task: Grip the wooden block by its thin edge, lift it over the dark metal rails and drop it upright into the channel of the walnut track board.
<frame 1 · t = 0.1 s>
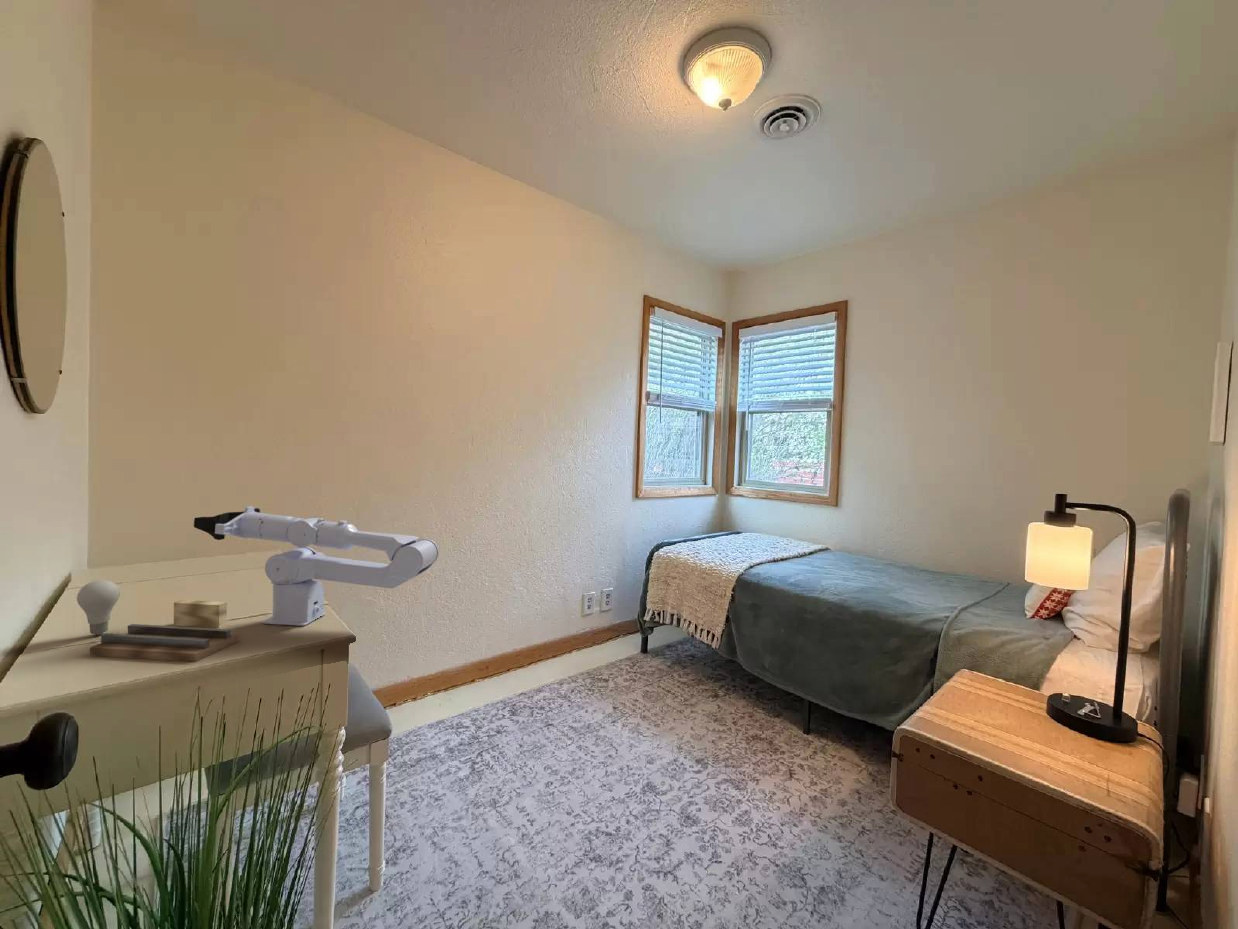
hand: (209, 519, 117), 22 cm above the table, tool horizontal, fingers open, 7 cm apart
track board: (167, 647, 99), on the table
lightbulb: (99, 635, 104), on the table
wooden block: (200, 625, 111), on the table
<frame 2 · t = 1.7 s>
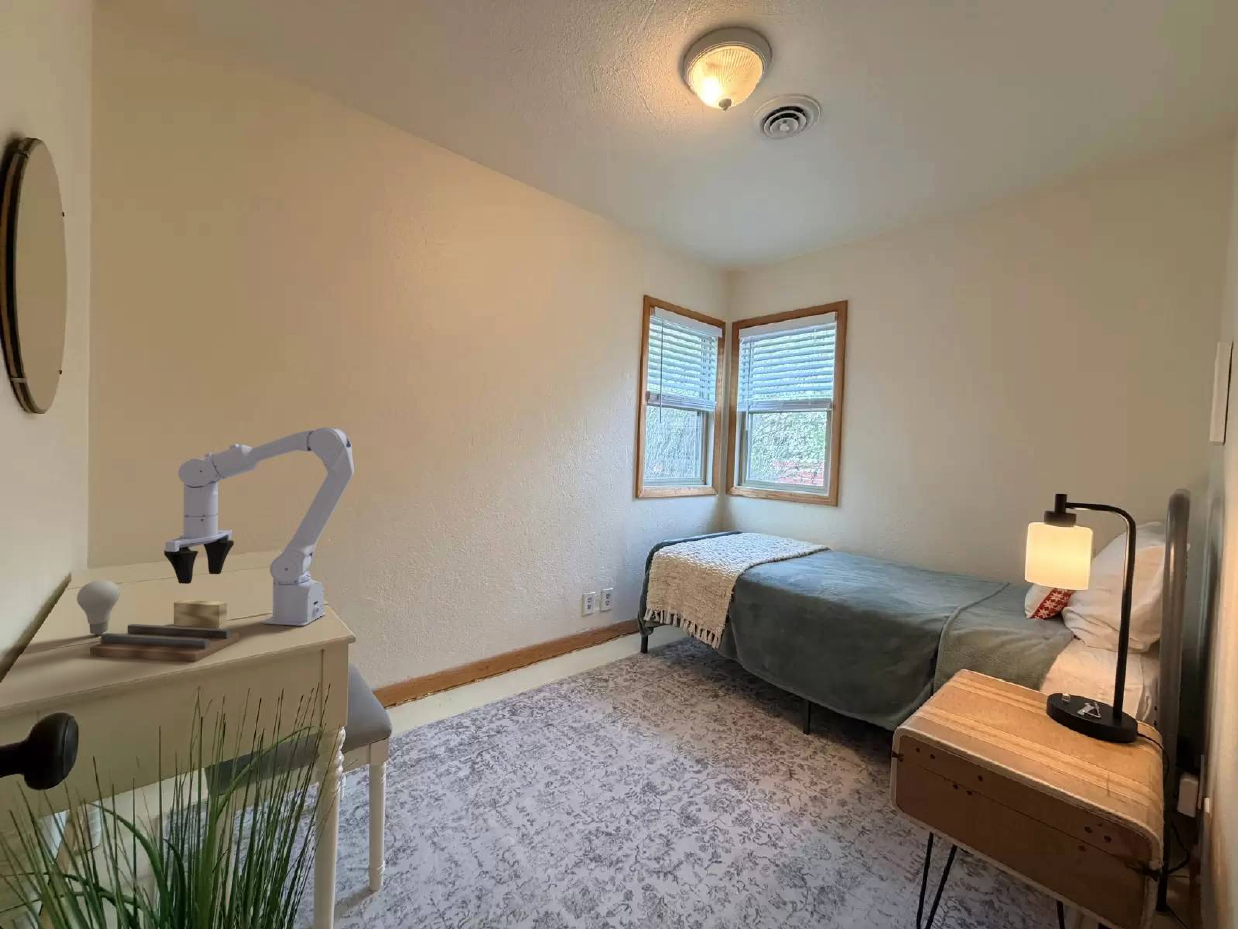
hand: (200, 578, 111), 10 cm above the table, tool pointing down, fingers open, 7 cm apart
nothing on the table moved.
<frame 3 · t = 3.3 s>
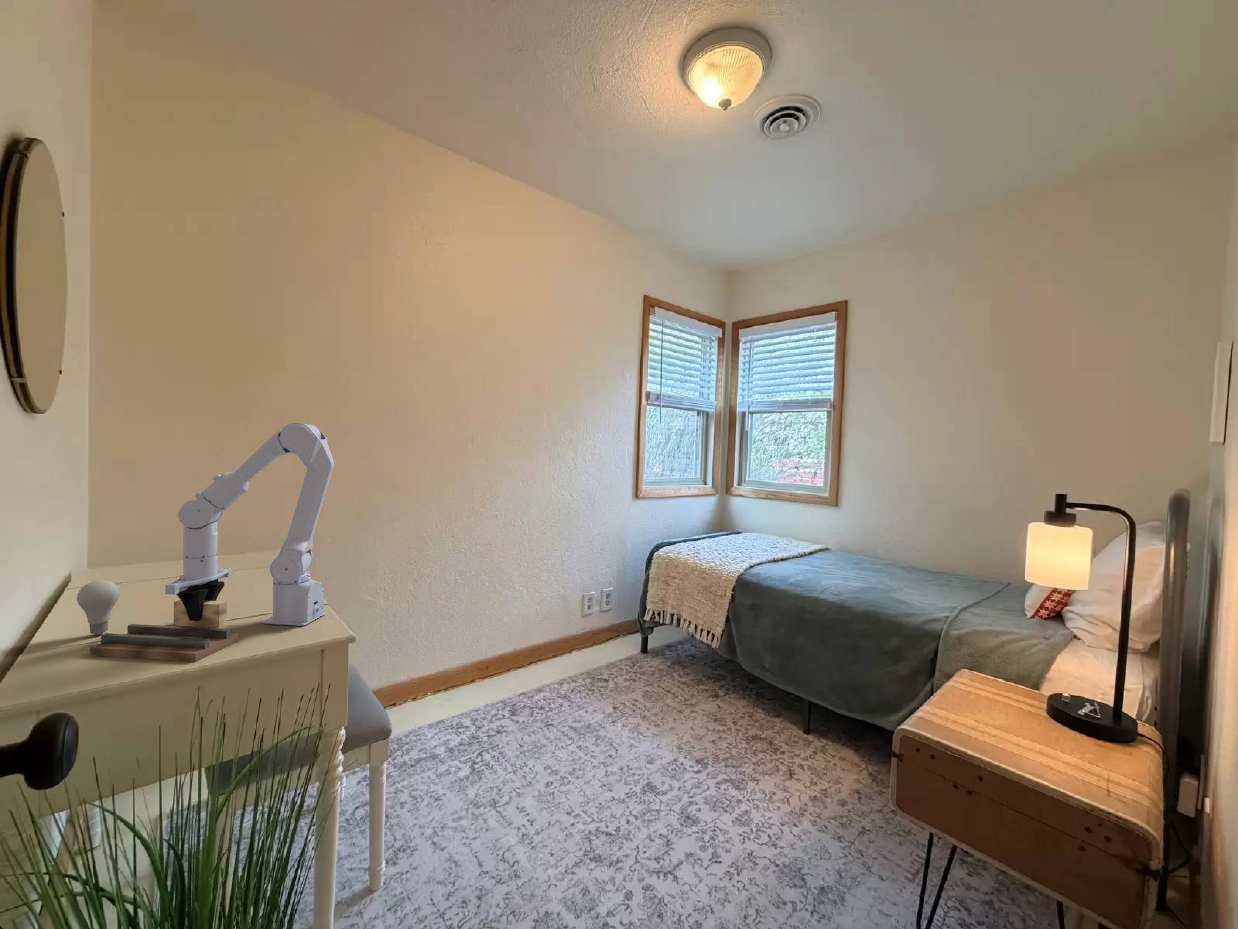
hand: (200, 618, 111), 1 cm above the table, tool pointing down, fingers closed on wooden block, 2 cm apart
wooden block: (200, 624, 111), on the table, touching gripper
everything else where it was.
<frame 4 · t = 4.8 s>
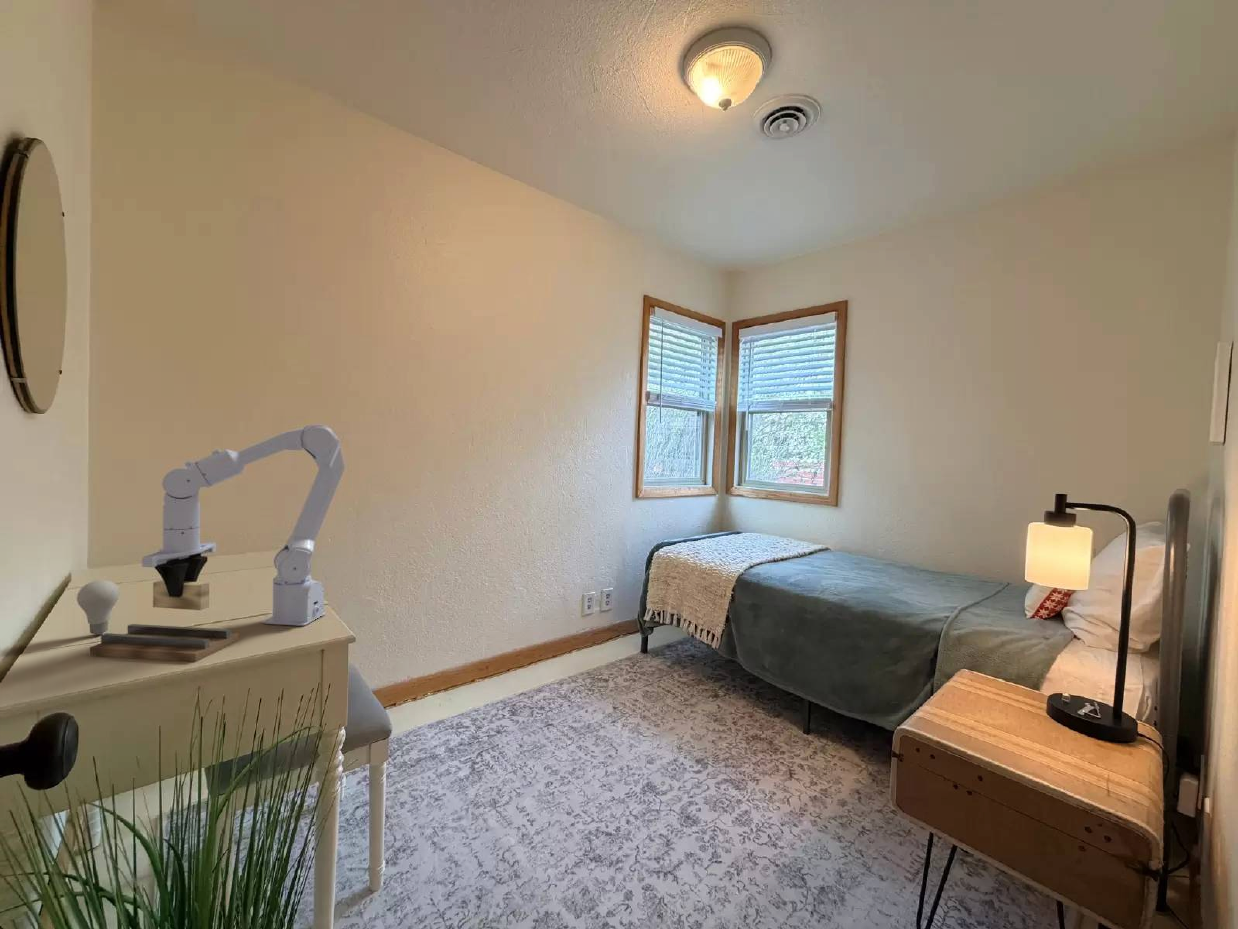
hand: (181, 594, 105), 8 cm above the table, tool pointing down, fingers closed on wooden block
wooden block: (181, 607, 105), point 6 cm above the table, touching gripper
everything else where it was.
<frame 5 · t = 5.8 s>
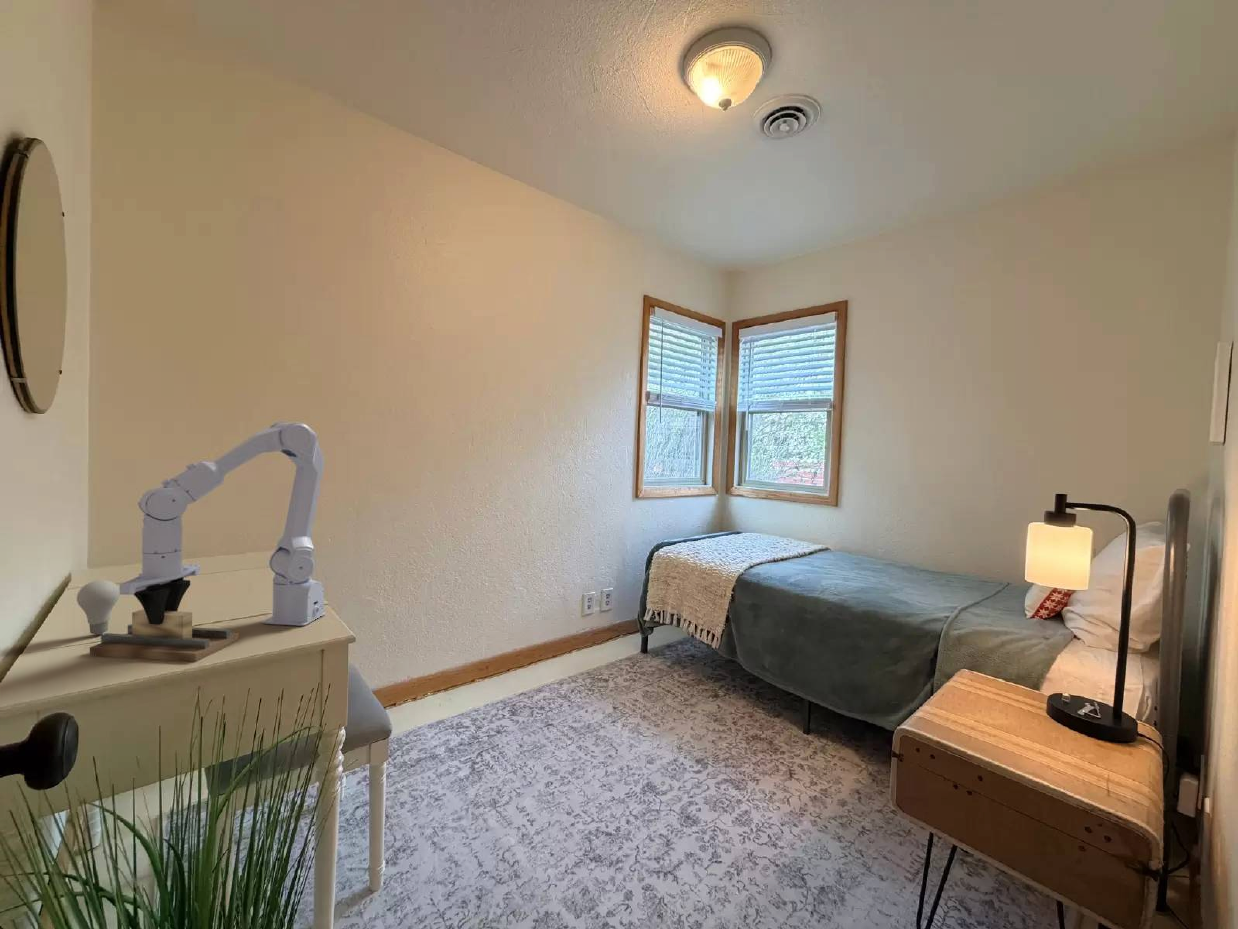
hand: (162, 621, 99), 5 cm above the table, tool pointing down, fingers closed on wooden block, 2 cm apart
wooden block: (162, 638, 99), point 2 cm above the table, touching gripper
everything else where it was.
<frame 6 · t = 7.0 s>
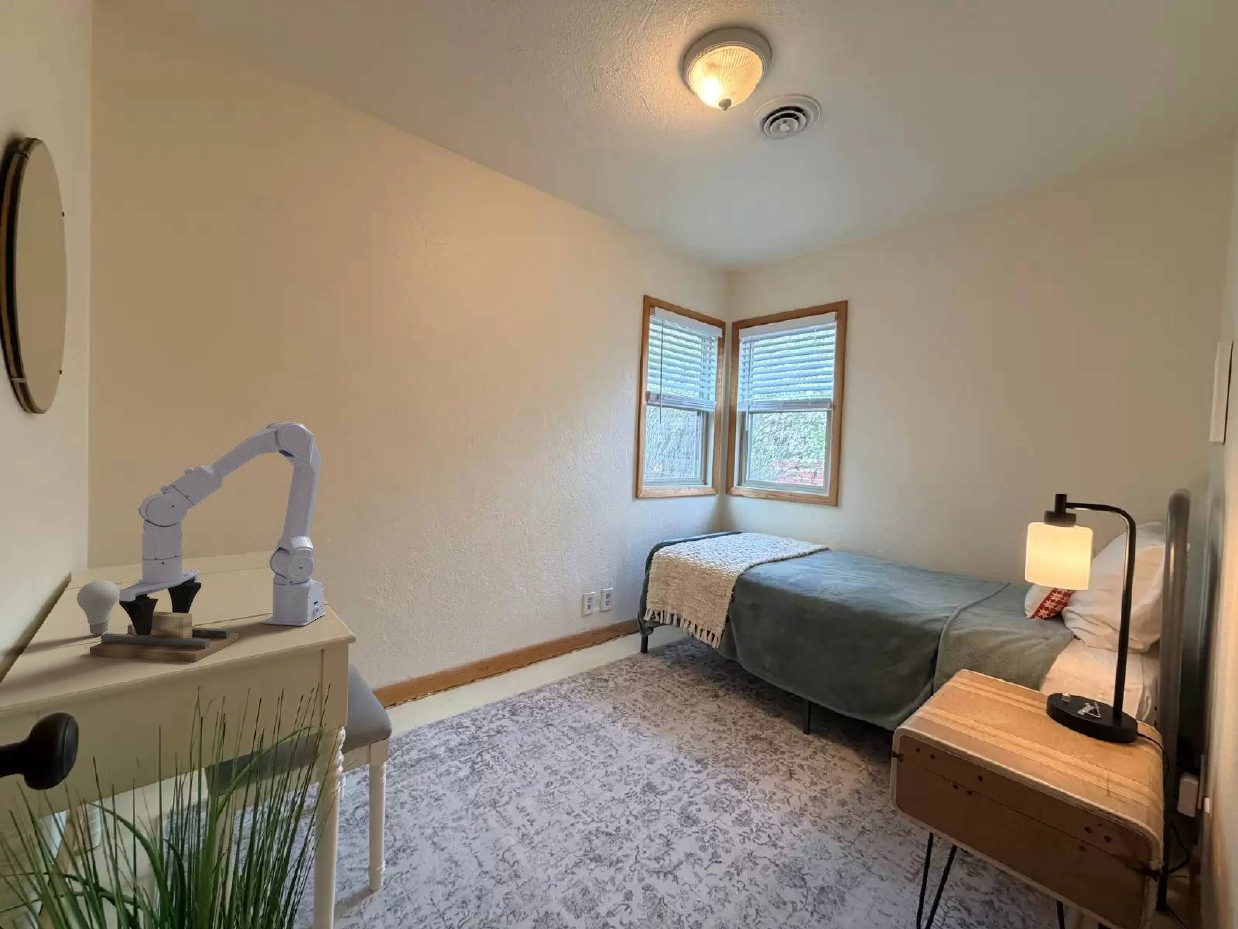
hand: (162, 627, 99), 4 cm above the table, tool pointing down, fingers open, 7 cm apart
wooden block: (162, 639, 99), point 1 cm above the table, touching track board
everything else where it was.
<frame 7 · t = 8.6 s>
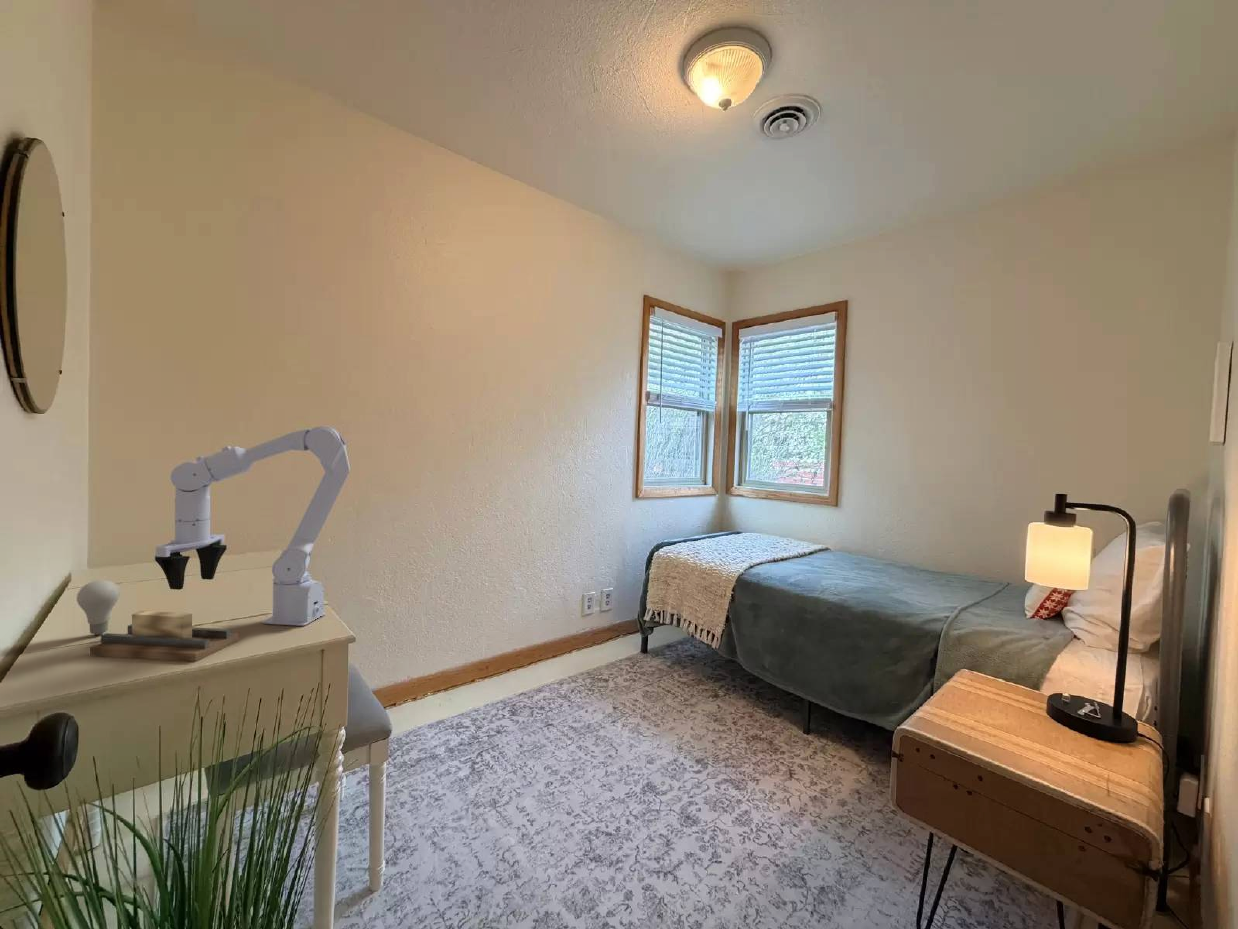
hand: (192, 583, 109), 9 cm above the table, tool pointing down, fingers open, 7 cm apart
nothing on the table moved.
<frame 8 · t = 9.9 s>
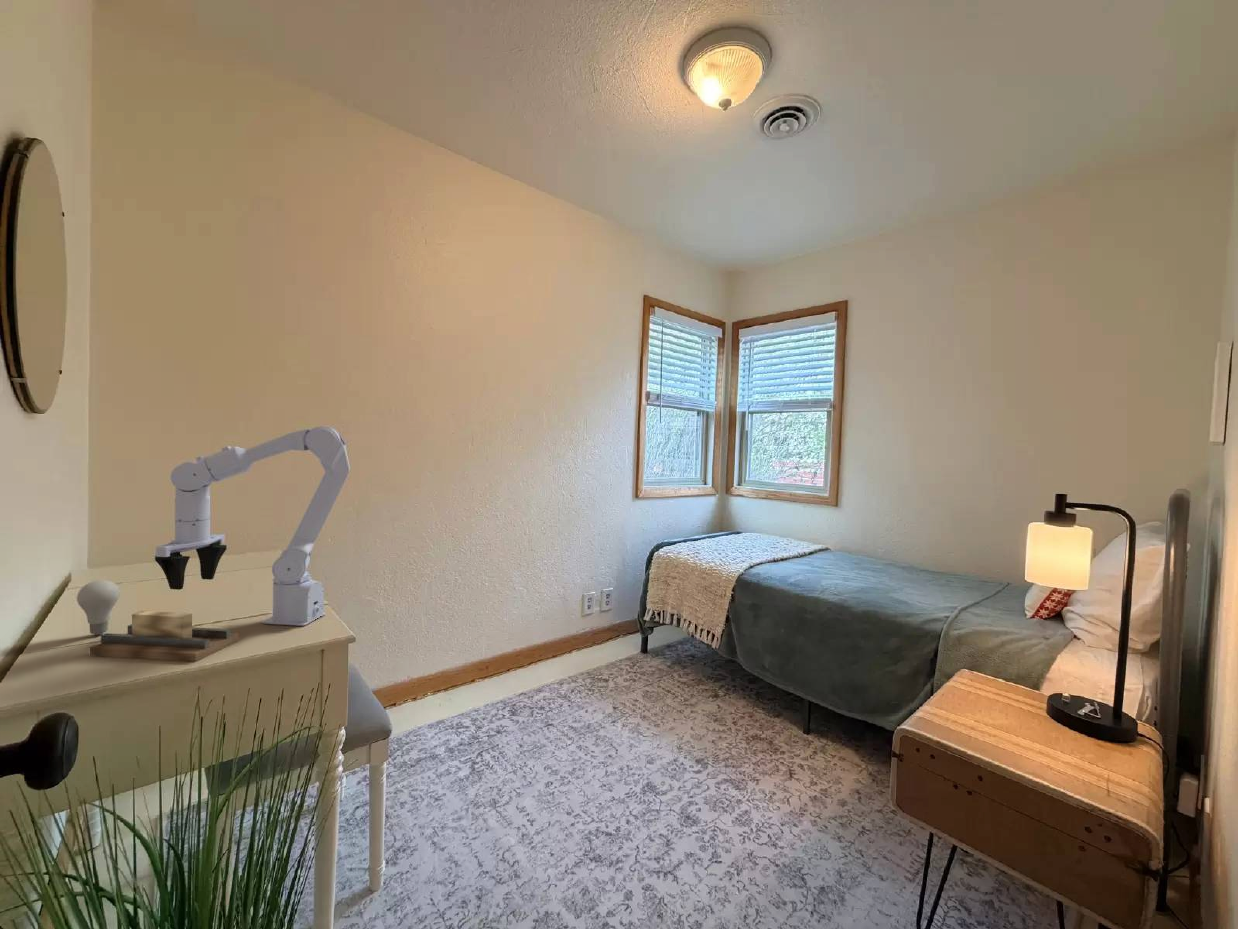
hand: (192, 583, 109), 9 cm above the table, tool pointing down, fingers open, 7 cm apart
nothing on the table moved.
at the end: wooden block inside the target area on the track board (1.0 cm from its centre), point 1.5 cm above the track board's base; wooden block tilted 0°; the gripper is holding nothing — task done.
